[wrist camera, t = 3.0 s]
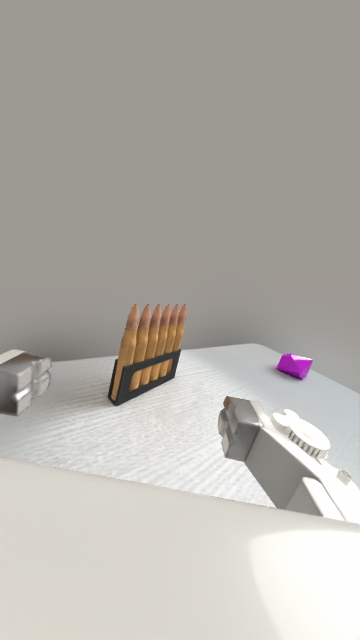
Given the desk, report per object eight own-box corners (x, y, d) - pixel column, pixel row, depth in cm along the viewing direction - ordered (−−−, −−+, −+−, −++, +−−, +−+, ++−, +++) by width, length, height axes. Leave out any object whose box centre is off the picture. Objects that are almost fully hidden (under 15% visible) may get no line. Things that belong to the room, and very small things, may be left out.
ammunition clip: (115, 406, 21) (134, 306, 18) (107, 397, 22) (123, 301, 19) (174, 377, 29) (193, 306, 26) (166, 371, 30) (184, 302, 27)
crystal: (285, 366, 46) (292, 349, 45) (308, 378, 42) (316, 361, 41) (274, 367, 43) (281, 350, 42) (297, 381, 39) (306, 362, 38)
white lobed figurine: (254, 444, 21) (260, 429, 20) (267, 408, 28) (273, 396, 27) (361, 519, 16) (374, 502, 15) (345, 453, 23) (353, 439, 22)
